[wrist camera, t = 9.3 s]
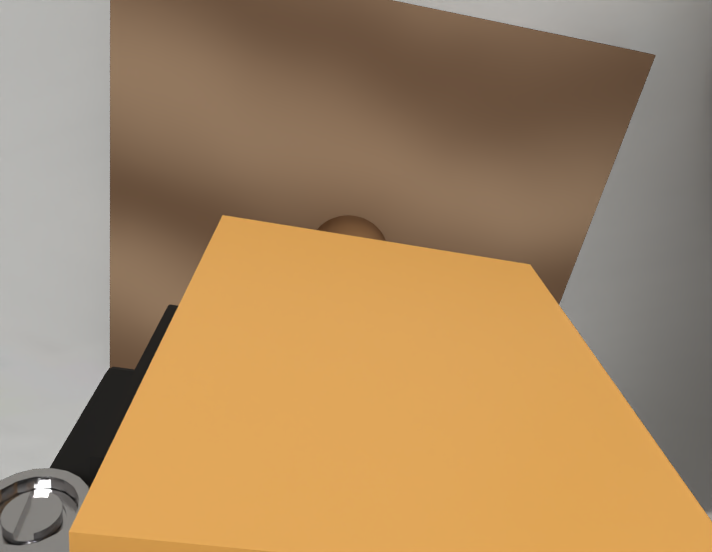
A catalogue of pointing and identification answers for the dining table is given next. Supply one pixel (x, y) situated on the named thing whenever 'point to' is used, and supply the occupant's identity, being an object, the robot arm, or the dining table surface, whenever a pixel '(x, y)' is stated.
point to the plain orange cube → (378, 414)
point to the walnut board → (350, 136)
